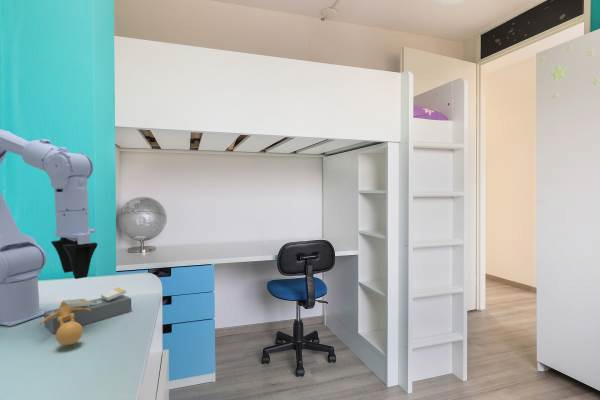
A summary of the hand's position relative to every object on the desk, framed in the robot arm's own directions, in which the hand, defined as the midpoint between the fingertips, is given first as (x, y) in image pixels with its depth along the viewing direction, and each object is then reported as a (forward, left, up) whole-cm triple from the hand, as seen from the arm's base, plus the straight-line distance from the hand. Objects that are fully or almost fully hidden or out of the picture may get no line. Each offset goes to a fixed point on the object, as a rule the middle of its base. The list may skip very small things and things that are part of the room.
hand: (75, 274), depth 72 cm
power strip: (0, +3, -10) cm, 11 cm away
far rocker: (+2, +7, -7) cm, 10 cm away
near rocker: (0, 0, -7) cm, 7 cm away
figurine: (+11, -9, -10) cm, 17 cm away
